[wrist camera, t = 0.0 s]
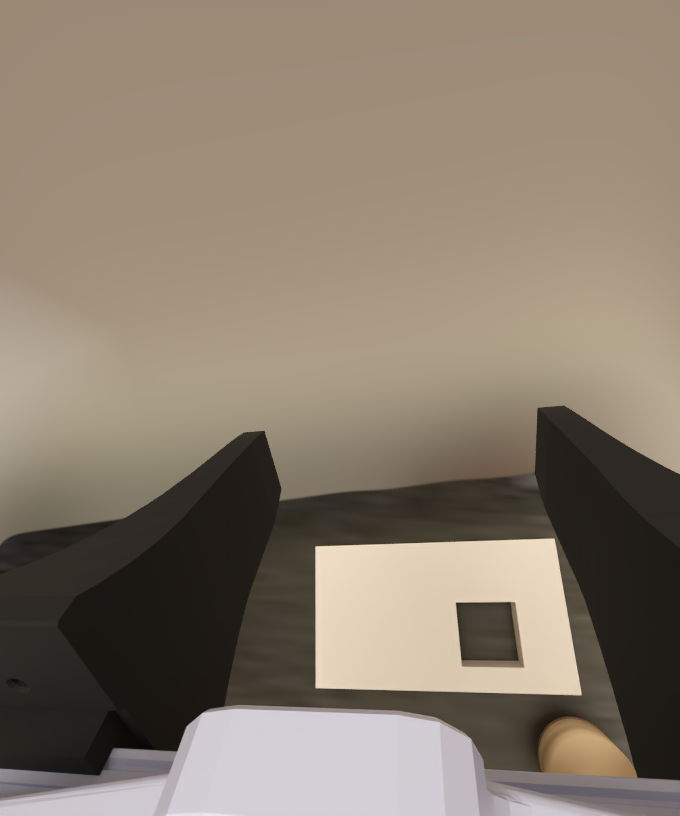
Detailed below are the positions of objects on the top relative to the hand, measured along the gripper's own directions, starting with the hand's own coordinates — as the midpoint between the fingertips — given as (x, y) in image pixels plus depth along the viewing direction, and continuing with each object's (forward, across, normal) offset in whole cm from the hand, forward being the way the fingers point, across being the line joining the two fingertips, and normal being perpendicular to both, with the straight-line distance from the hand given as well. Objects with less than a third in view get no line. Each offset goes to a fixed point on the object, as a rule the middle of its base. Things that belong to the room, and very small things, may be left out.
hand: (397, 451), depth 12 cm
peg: (+9, -9, +35) cm, 37 cm away
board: (+16, 0, +28) cm, 33 cm away
